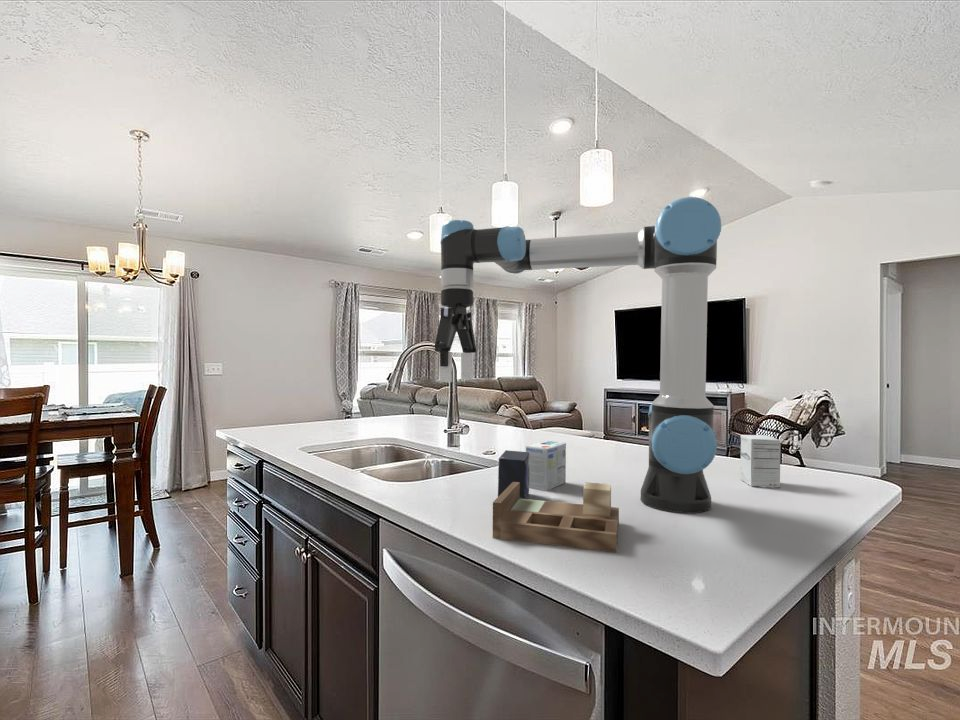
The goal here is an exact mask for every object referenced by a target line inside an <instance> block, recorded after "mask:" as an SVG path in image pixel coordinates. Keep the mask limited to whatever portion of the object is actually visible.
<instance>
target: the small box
mask: <svg viewBox="0 0 960 720" xmlns="http://www.w3.org/2000/svg"><path fill="white" fill-rule="evenodd" d="M529 467H530V456H529V452H526V451H518V450H505V451H503V453H502V454H501V455H500V456H499V458H498V470H497V471H498V473H497V475H498V477H497V480H498V483H497V498H498V497H499V495H500V494H501V493H502V492H503V491H504V490H505V489H506V488H507V487H508V486H509V485H510V484H511V483H512V482H520V499H528V497H529V494H530V488H529Z"/></svg>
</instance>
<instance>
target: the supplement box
mask: <svg viewBox="0 0 960 720" xmlns="http://www.w3.org/2000/svg"><path fill="white" fill-rule="evenodd" d="M739 479H740V480H741V481H742V482H744V483H745V484H747V485H748V484H749V485H748V486H750V487H751V486H765V487H764V488H766V487H780V488H781V439H778V438H775V437H772V436H769V435H765V434H763V435H762V434H741V435H740V478H739Z"/></svg>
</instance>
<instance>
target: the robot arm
mask: <svg viewBox="0 0 960 720" xmlns="http://www.w3.org/2000/svg"><path fill="white" fill-rule="evenodd" d="M720 215H721V214H720V213H719V211H718V209H717V207H716V206H715V205H714V204H712V203H711V202H709V201H708V200H706V199H704V198H700V197H696V196H686V197H680V198H678V199H676V200H673V201H672V202H669V204H668V205H666V206H665V207H664V209H662V211H661V213H660V214H658V216H657V218H656V222H655V224H654V225H651V226H642V227H641V228H640V229H639V230H638V231H631V232H630V231H629V232H615V233H603V234H602V233H601V234H600V233H599V234H589V235H588V234H587V235H576V236H575V235H573V236H558V237H556V236H555V237H544V238H531V239H526V235H525V232H524V229H523V228H522V227H520V226H508V225H507V226H502V227H493V228H482V229H480V228H478V229H475V228H474V224H473V222H471V221H468V220H465V219H464V220H463V219H460V220H459V219H453V220H452V219H451V220H447V221H445V222H444V223H443V224H442V227H441V233H440V234H441V239H440V260H441V261H440V263H441V264H440V265H441V267H440V271H441V273H440V276H439V280H440V287H441V288H442V289H441V291H440V306H442V307H441V308H440V319H439V323H438V328H437V333H436V338H435V342H434V352H436V353H437V352H439V357H438V358H439V362H438V363H439V366H438V367H439V368H438V371H439V372H438V375H439V377H438V379H439V382H441V383H452V382H453V352H452V351H451V349H452V345H453V342H454V340H455V337H456V334H457V335H458V340H459V343H460V346H461V350H462V352H461V353H460V355H461V356H460V359H461V360H460V379H461V380H473V365H474V364H473V363H474V362H473V360H474V359H473V355H474V353H477V347H476V339H475V333H474V327H473V326H474V325H473V319H472V318H473V316H472V315H473V314H472V312H471V311H470V312H469V311H468V312H467V308H470V307H473V306H474V291H473V290H472V289H473V288H474V264H480V263H481V264H482V263H494V264H496V265H497V266H499V267H500V268H501V269H502V270H504V271H505V272H507V273H510V274H514V275H517V274H521V273H523V272H524V271H536V270H537V271H538V270H555V269H558V270H559V269H572V268H573V269H576V268H577V269H578V268H579V269H580V268H597V267H598V268H599V267H617V266H618V267H619V266H621V267H622V266H638V267H640V269H642V270H647V269H648V270H650V269H653V270H654V272H655V273H656V274H657V275H658V276H659V277H660V278H661V313H660V314H661V316H660V317H661V318H660V363H659V364H660V369H659V370H660V371H659V379H660V380H659V395H658V396H657V397H656V398H655V399H654V400H653V401H652V402H651V404H650V405H649V408H648V409H649V411H648V414H647V415H648V416H647V417H648V469H647V471H646V473H645V476H644V477H645V478H644V480H643V483H642V486H641V489H640V501H641V503H643V504H644V505H645V506H648V507H650V508H653V509H658V510H661V511H667V512H674V513H691V514H692V513H693V514H695V513H702V512H707V511H709V510H711V509H712V495H711V493H710V492H711V491H710V489H709V486H708V483H707V480H706V477H705V474H704V469H706V468H707V467H708V466H710V464H711V463H712V462H713V460H714V458H715V457H716V455H717V449H718V441H717V436H716V434H715V432H714V413H715V412H714V408H715V407H714V404H713V403H712V402H711V401H710V399H708V398H707V396H706V393H707V392H706V386H707V385H706V383H707V337H708V335H707V334H708V326H707V325H708V290H709V289H708V287H709V285H708V284H709V282H708V281H709V276H710V275H711V274H712V273H714V271H715V270H716V269H717V259H718V253H717V251H718V239H719V236H720V235H721V232H722V219H721V216H720Z"/></svg>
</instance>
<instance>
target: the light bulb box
mask: <svg viewBox="0 0 960 720" xmlns="http://www.w3.org/2000/svg"><path fill="white" fill-rule="evenodd" d="M525 452H529V456H530V467H529V489H535V490H540V491H546V492H548V491H551V490H552V489H555V488H557V487H559V486H560V485H563V484H565V483H566V481H567V480H566V477H567V475H566V473H567V472H566V467H567V466H566V465H567V461H566V460H567V443H566V442H561V441H560V442H559V441H549V440H543V441H540V442H536V443H533V444H530V445H526V446H525Z"/></svg>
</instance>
